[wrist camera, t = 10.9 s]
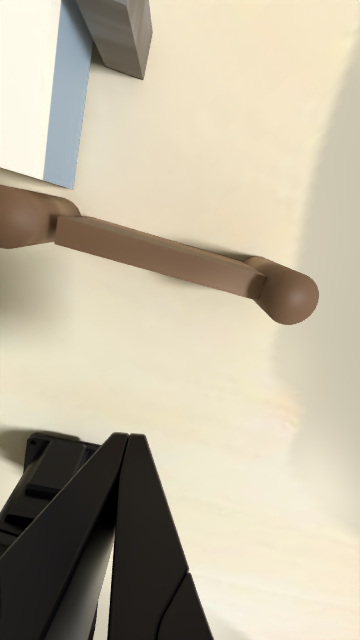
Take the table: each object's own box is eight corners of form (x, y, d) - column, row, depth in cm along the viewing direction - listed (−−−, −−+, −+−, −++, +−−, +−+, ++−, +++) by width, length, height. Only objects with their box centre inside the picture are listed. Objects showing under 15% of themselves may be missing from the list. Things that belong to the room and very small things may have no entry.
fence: (265, 296, 18) (304, 330, 13) (39, 233, 17) (-30, 239, 11) (342, 103, 15) (447, 30, 9) (63, -2, 13) (-22, -172, 7)
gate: (47, 181, 15) (-13, 163, 10) (80, -133, 11) (8, -400, 6) (78, 191, 16) (34, 177, 11) (122, -115, 12) (84, -359, 7)
